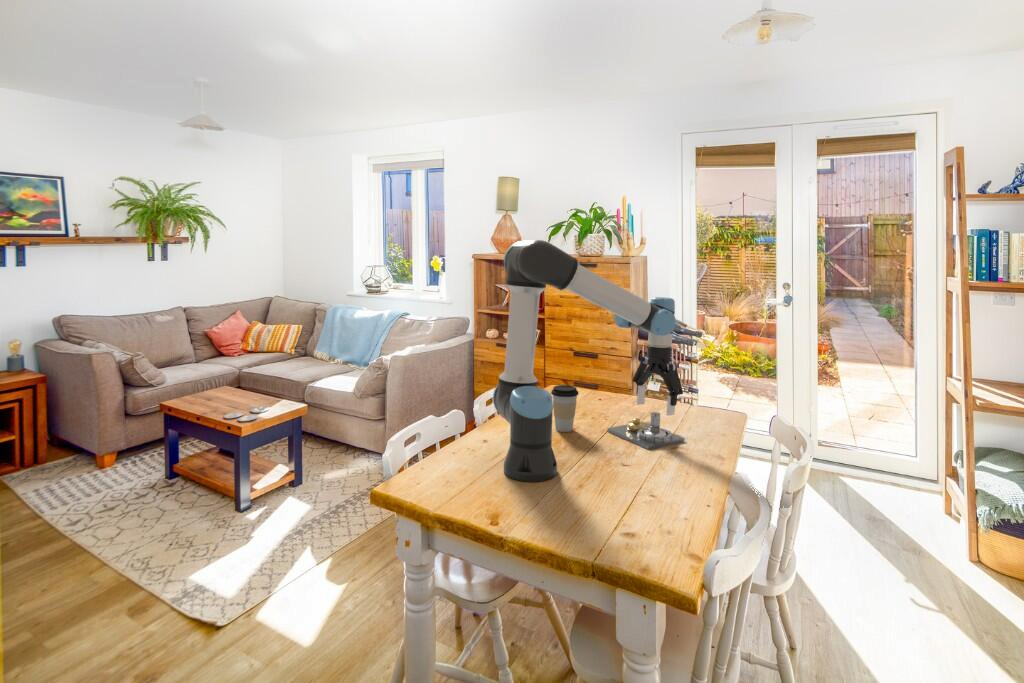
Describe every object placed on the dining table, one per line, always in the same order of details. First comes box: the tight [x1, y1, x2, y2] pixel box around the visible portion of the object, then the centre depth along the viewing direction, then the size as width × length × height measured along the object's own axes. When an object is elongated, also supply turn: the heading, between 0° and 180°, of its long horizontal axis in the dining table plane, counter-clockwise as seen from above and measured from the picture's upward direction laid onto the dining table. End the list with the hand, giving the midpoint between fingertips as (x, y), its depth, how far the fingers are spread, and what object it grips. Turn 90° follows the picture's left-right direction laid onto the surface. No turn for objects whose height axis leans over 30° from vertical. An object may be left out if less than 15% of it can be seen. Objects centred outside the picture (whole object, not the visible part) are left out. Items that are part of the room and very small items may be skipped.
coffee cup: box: [550, 384, 579, 433], centre depth 196 cm, size 9×9×15 cm
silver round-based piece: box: [644, 411, 666, 437], centre depth 187 cm, size 7×7×8 cm
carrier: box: [607, 417, 685, 450], centre depth 191 cm, size 16×20×5 cm
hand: (655, 409), depth 186 cm, fingers open, 13 cm apart
